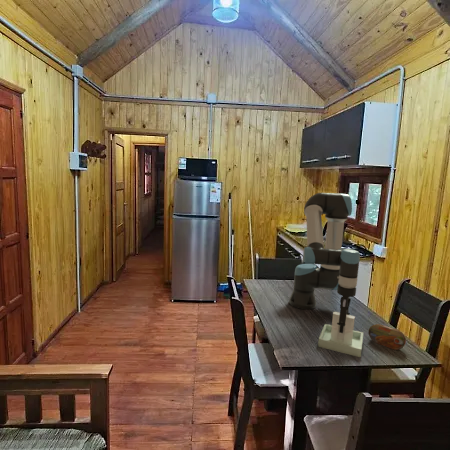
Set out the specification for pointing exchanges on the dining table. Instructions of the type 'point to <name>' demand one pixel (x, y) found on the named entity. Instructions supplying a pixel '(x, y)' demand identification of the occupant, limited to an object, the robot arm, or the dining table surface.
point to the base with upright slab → (348, 329)
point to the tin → (387, 336)
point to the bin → (343, 348)
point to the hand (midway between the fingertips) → (341, 333)
